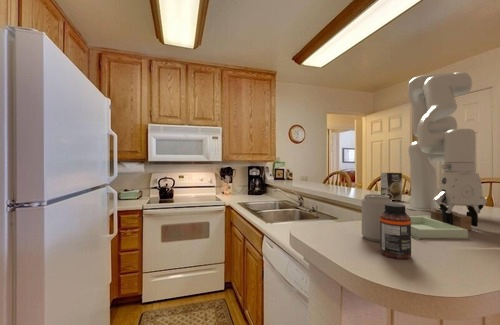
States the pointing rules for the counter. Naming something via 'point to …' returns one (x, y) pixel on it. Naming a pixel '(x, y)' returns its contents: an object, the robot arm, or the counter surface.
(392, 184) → the coffee box
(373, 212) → the can
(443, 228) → the tray
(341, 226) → the counter surface
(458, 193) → the robot arm
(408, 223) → the supplement bottle
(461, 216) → the brown wooden block
